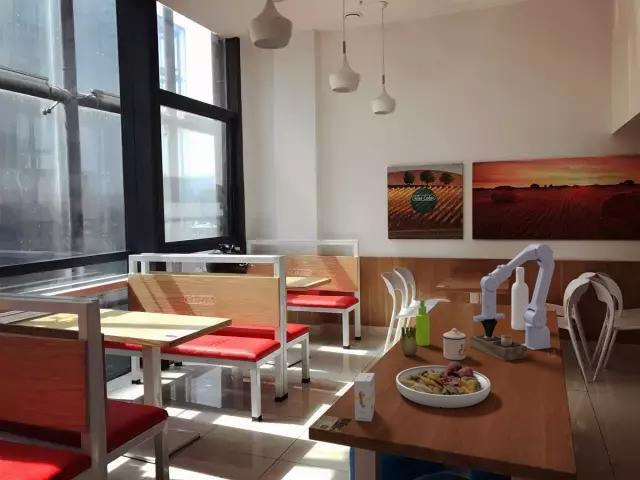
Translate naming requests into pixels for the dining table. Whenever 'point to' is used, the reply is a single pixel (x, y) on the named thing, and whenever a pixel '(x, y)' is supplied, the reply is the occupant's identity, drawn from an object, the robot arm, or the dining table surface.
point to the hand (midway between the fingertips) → (489, 336)
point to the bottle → (519, 300)
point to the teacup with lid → (454, 345)
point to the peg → (506, 339)
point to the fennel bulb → (409, 341)
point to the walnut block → (498, 348)
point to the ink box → (364, 396)
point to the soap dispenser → (422, 325)
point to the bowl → (443, 385)
